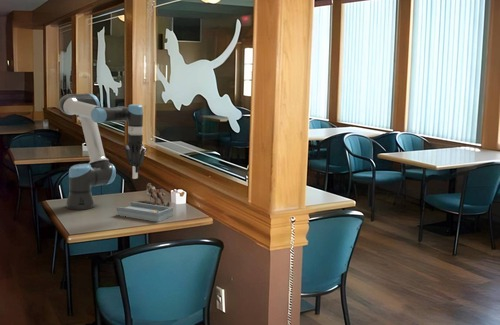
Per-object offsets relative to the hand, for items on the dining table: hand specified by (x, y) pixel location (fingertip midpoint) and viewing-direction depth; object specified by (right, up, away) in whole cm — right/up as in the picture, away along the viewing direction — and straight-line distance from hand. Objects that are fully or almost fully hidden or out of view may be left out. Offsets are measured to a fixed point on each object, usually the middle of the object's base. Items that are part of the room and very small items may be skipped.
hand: (135, 178), depth 310 cm
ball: (+10, -19, -2) cm, 21 cm away
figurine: (+8, -16, +25) cm, 31 cm away
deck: (+5, -20, +1) cm, 21 cm away
